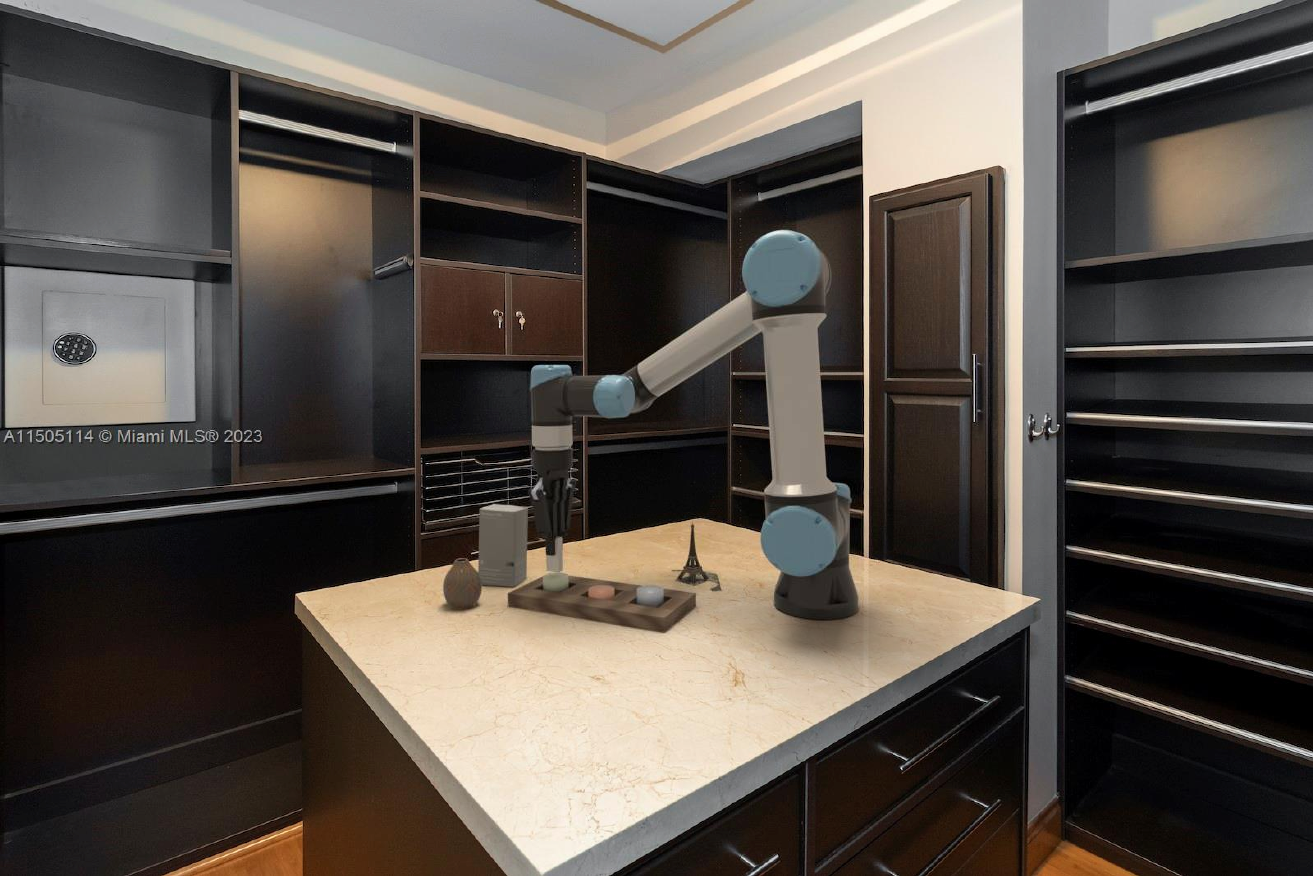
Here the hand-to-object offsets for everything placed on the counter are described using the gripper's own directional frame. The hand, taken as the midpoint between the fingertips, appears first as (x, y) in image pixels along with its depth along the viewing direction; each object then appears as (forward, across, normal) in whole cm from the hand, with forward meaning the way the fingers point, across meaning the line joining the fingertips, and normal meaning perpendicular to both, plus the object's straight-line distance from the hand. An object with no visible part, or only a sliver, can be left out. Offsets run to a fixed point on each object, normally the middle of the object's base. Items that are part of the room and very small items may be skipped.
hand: (554, 570), depth 132 cm
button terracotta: (+5, 0, +10) cm, 11 cm away
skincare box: (+6, -5, -16) cm, 18 cm away
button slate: (+4, 0, +20) cm, 21 cm away
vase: (+6, +10, -14) cm, 18 cm away
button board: (+6, 0, +10) cm, 12 cm away
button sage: (+4, 0, 0) cm, 4 cm away
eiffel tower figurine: (+6, -22, +20) cm, 30 cm away
